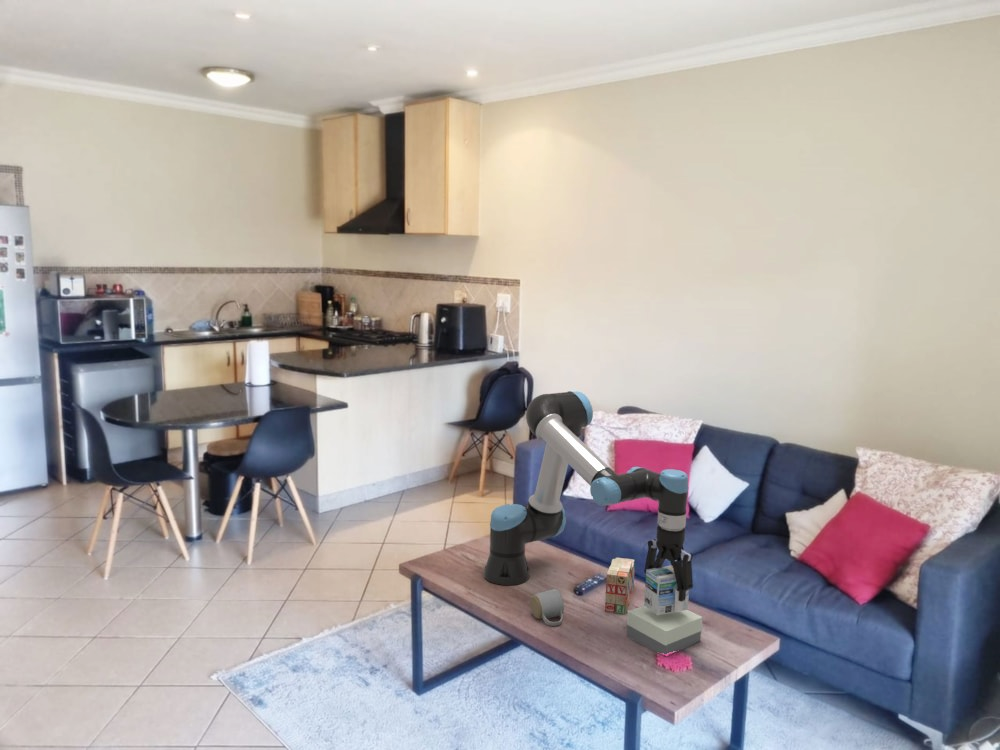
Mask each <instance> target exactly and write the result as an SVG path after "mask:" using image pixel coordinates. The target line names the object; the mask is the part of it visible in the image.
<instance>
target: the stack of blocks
mask: <svg viewBox="0 0 1000 750" xmlns="http://www.w3.org/2000/svg"><path fill="white" fill-rule="evenodd" d="M605 582H606V585H605V602H604V607H605V608H604V612H607V613H612V614H620V615H626V614H627V611H628V609H629V604H630V600H631V596H632V593H633V589H634V587H635V583H634V582H635V559H632V558H622V557H615V558H612V560H611V564H610V566H609V567H608V570H607V573H606V581H605Z"/></svg>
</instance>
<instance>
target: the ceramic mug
mask: <svg viewBox="0 0 1000 750" xmlns="http://www.w3.org/2000/svg"><path fill="white" fill-rule="evenodd" d="M529 606H530V607H529V608H530V610H531V614H532V615H533V617H534V618H536V619H537V620H543V622H544V623H545V624H546V625H548V626H550V627H558V626H559V625H561V624H562V622H563V618H564V615H563V614H564V611H565V603H564V599H563V596H562V594H561V592H560V591H559V590H558V589H556V588H553V589H550V590H546V591H541V592H538V593H536V594H533V595H532V596H531V597H530V600H529ZM556 617H560V620H559V621H550V620H549V619H550V618H556Z"/></svg>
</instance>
